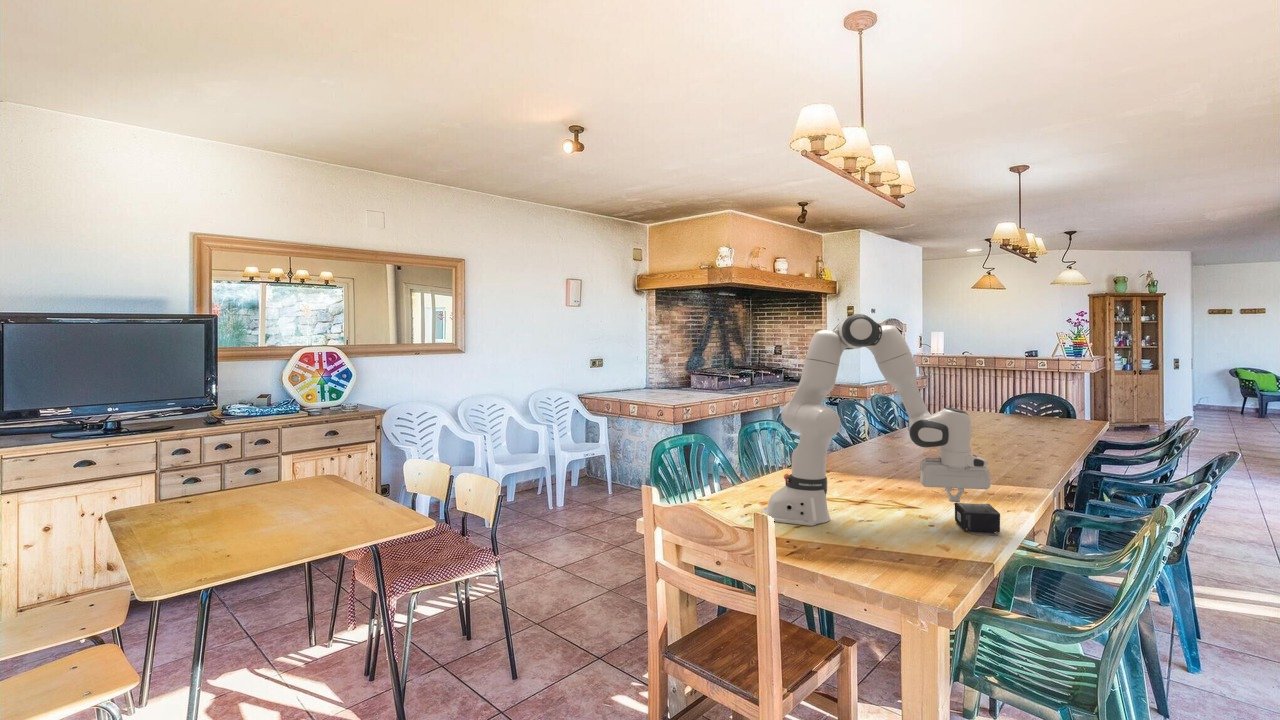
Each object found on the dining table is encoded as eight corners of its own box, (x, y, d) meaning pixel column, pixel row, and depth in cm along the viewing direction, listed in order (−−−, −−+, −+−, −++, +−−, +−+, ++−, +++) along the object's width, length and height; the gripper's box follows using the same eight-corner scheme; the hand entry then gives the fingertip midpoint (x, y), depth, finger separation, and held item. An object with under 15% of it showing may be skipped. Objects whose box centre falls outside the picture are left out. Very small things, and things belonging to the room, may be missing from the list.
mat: (971, 534, 189) (971, 533, 189) (957, 521, 201) (957, 520, 201) (997, 535, 187) (997, 535, 187) (982, 523, 200) (982, 522, 200)
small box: (963, 532, 190) (1001, 533, 188) (963, 512, 190) (1000, 513, 188) (954, 521, 201) (989, 522, 198) (954, 502, 200) (989, 502, 198)
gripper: (923, 459, 194) (922, 502, 194) (993, 462, 190) (992, 505, 190) (917, 455, 200) (917, 497, 200) (985, 457, 196) (984, 500, 197)
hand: (954, 501), depth 195 cm, fingers closed
